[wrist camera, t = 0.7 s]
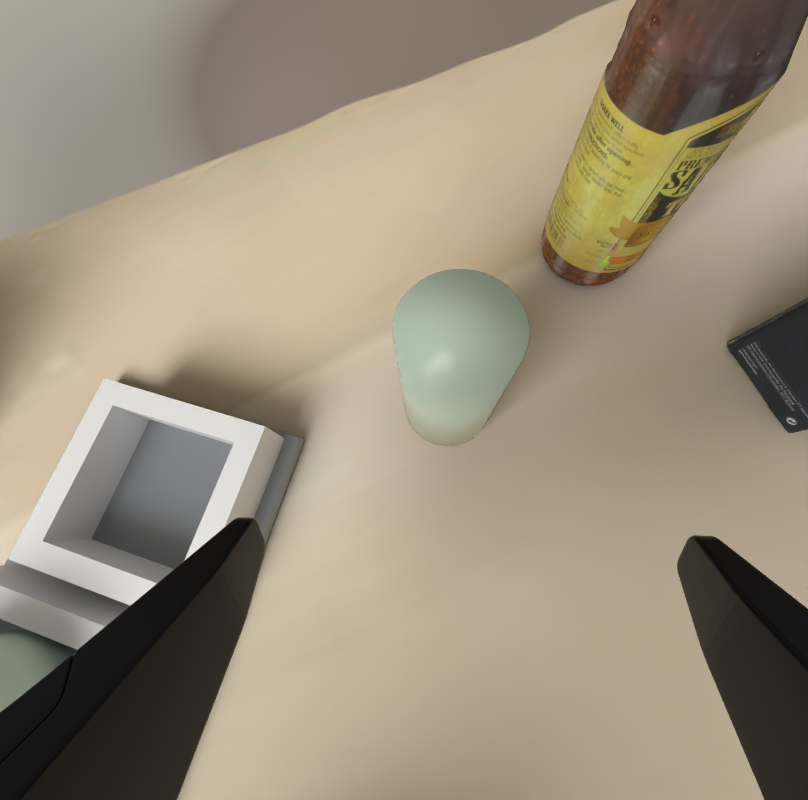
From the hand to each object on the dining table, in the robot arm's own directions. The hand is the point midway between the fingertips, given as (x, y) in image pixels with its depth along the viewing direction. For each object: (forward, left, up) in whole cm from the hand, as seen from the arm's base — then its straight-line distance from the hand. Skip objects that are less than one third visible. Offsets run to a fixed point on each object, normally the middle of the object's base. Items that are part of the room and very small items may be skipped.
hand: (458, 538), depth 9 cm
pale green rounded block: (+7, +1, -15) cm, 16 cm away
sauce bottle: (+20, -5, -15) cm, 25 cm away
